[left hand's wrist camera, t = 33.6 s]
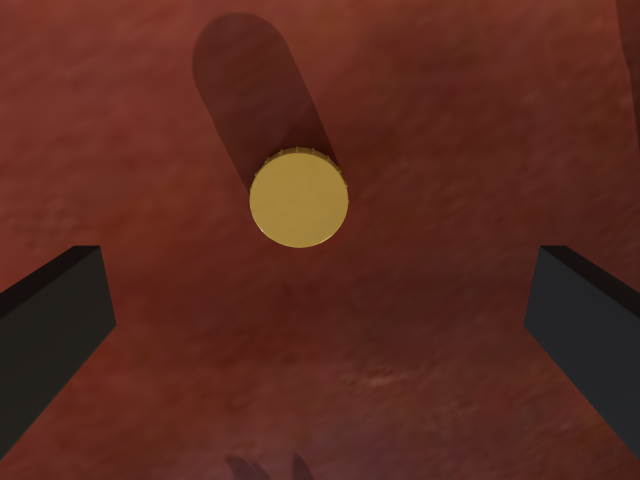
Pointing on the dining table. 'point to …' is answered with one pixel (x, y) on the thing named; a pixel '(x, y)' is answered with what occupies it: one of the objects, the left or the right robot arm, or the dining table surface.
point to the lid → (299, 197)
